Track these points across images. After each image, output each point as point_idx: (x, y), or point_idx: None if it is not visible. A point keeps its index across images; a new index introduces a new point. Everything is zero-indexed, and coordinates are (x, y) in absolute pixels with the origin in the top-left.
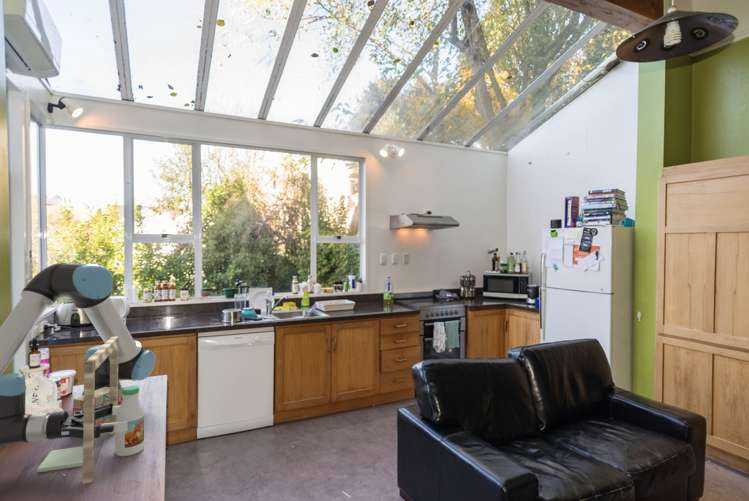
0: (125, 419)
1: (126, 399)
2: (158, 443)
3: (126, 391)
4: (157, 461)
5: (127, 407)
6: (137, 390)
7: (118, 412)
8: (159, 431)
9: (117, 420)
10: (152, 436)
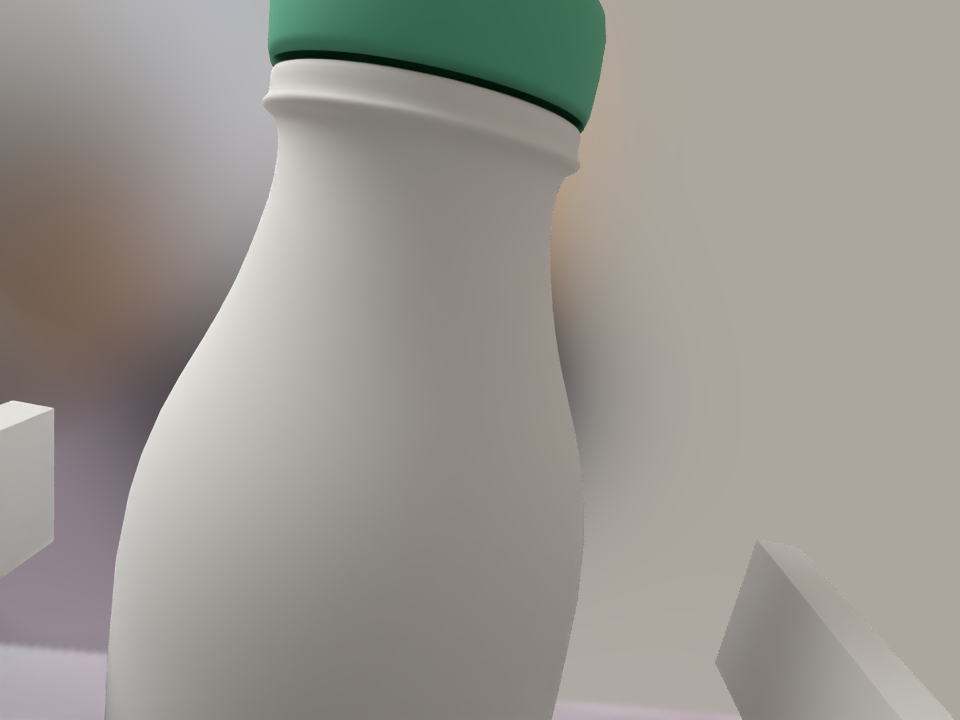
0: (579, 579)
1: (546, 221)
2: None
3: (600, 23)
4: (628, 716)
5: (560, 376)
6: (510, 87)
7: (475, 545)
8: (25, 652)
9: (483, 714)
10: (86, 712)
